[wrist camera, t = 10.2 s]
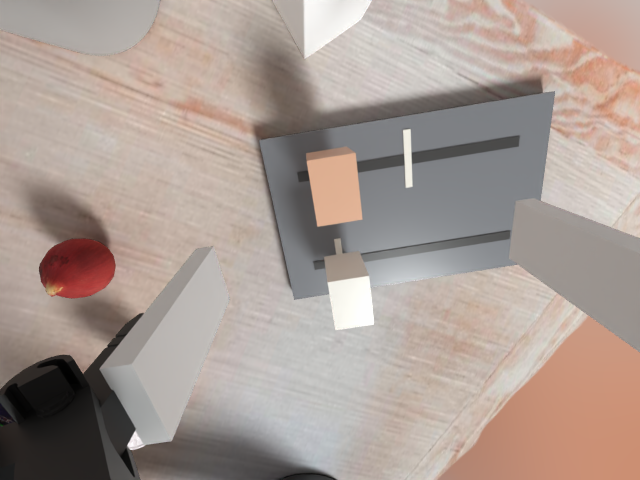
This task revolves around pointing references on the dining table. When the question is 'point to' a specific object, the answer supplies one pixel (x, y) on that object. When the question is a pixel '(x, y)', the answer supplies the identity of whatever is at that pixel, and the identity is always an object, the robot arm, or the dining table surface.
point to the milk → (319, 20)
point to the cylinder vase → (80, 23)
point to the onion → (77, 268)
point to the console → (415, 191)
